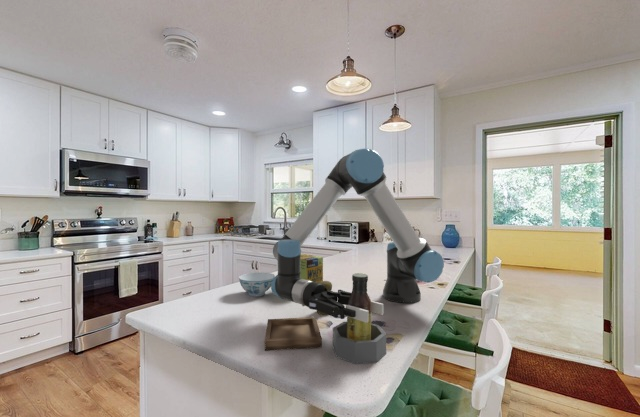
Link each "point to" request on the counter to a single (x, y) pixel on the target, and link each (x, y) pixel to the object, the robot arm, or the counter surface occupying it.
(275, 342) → the tray
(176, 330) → the counter surface
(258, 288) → the chinaware
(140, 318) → the counter surface
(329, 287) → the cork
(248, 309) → the counter surface
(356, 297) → the sauce bottle
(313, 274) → the protein box
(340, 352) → the holder cup
